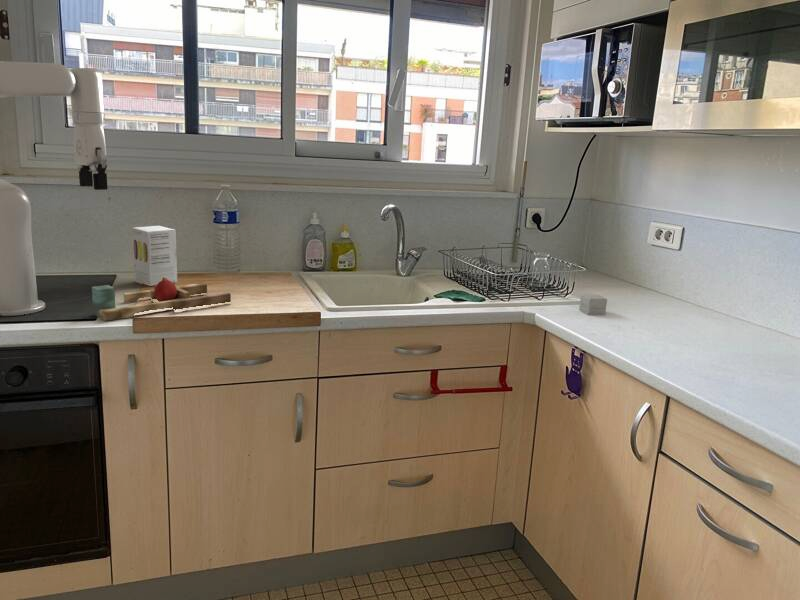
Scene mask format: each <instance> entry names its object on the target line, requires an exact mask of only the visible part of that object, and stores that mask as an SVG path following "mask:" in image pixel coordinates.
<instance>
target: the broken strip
mask: <svg viewBox="0 0 800 600" xmlns="http://www.w3.org/2000/svg"><path fill="white" fill-rule="evenodd" d="M193 285H198V283H197V284H196V283H192V284H186V285H185V284H184V285H179V286H178V285H177V286H176V285H175V286H176V287H185V286H193ZM151 291H152V290H149V289H147V290H140V291H134V292H126V293H123V302H124V304H131V303H138V302H137V300H138V299H139V298H144V297H151Z"/></svg>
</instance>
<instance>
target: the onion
mask: <svg viewBox="0 0 800 600" xmlns="http://www.w3.org/2000/svg"><path fill="white" fill-rule="evenodd" d="M175 286H176V285H175V284H173V283H172V282H171V281H169V280H168V279H167V277H163V278H162V281H160V282H159V283H158V284H157V285H156V286H155V287H154V290H153V291H154V295H155V298H156V299H157V300H158V301H159V302H162V301H168V300H175V299H176V297H177V289H176V287H175Z"/></svg>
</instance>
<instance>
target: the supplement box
mask: <svg viewBox="0 0 800 600" xmlns="http://www.w3.org/2000/svg"><path fill="white" fill-rule="evenodd" d="M176 236H177V233H176V229H174V228H170V227H169V228H168V227H166V226H162V225H149V226H136V227H135V226H133V227H132V245H133V246H132V247H133V265H134V267H133V268H134V282H136V283H138V284H140V285H143V284H142V283H145V284H148V285H156V284H158V283H159V282H160V281H162V278H163V277H167V279H168V280H169V281H171V282H177V283H178V266H177V265H178V264H177V263H178V261H177V237H176Z"/></svg>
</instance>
